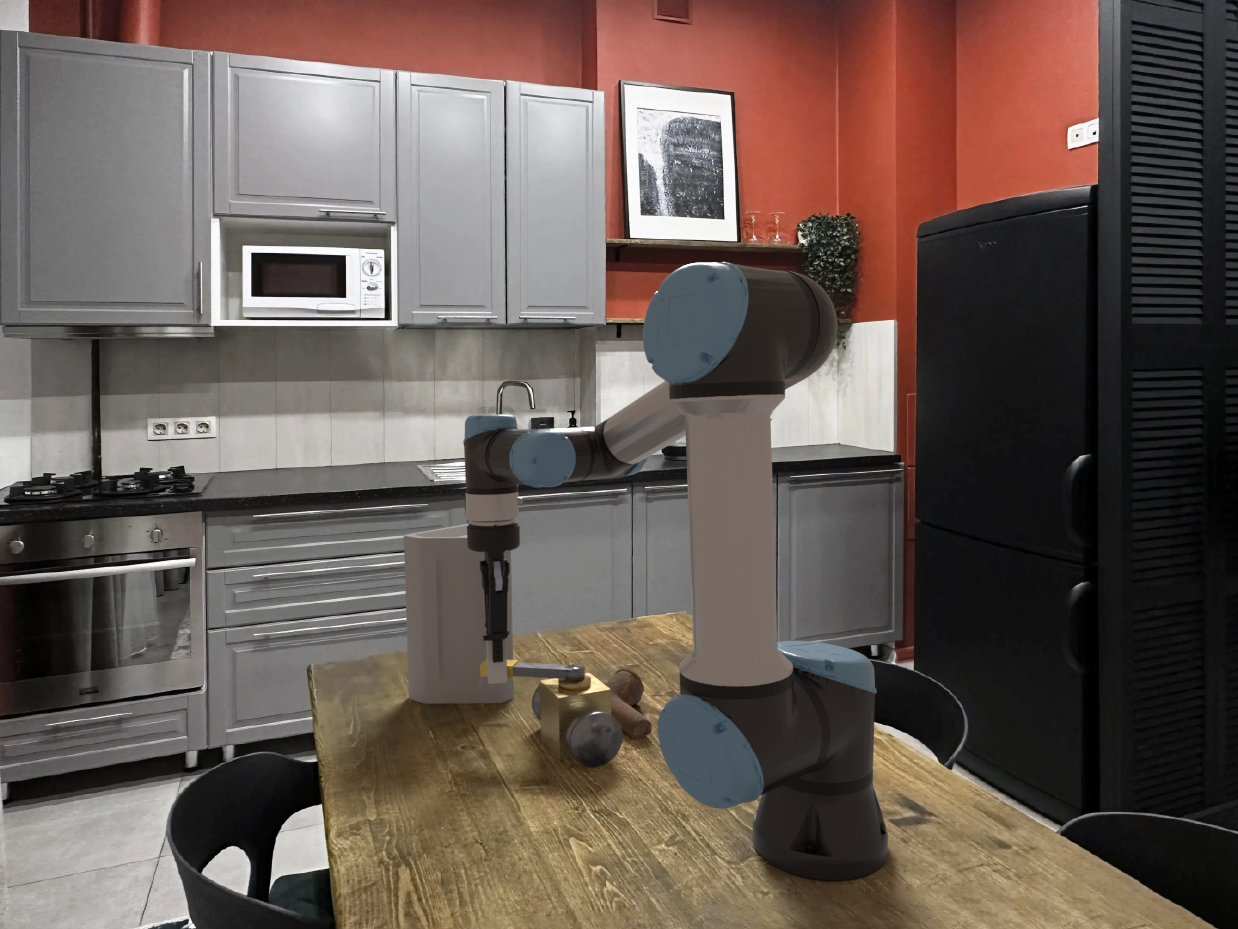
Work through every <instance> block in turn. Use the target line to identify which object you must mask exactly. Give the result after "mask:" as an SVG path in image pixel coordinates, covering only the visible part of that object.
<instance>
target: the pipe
mask: <svg viewBox="0 0 1238 929" xmlns="http://www.w3.org/2000/svg"><path fill="white" fill-rule="evenodd" d="M604 685H606V686H607V687H608V688H610V689H611V715H612V716H613V717H614V718H615V719H616V720H617V721H618V722H619V723H620V725H621V728H622V732H623V733H625V734H626V735H628V736H629V737H631V738H632V739H635V740H640V739H644V738H645V737H647V736H648V735H649V734H651V732H652V729H653V727H652V726H653V724H652V722H651V721H650V720H649V719H648V718H647V717H645V716H644V715H643V714H641V712H640V711H638V710H636V709H635V708H634V707H632V706H634V705H637V704H638V703H640V701H642V698H643V697H642V696H643V694H644V692H645V686H644V684H643V681H642V678H641V677H640V676H639V675H638V674H637V673H636V672H635V671H633V670H632V669H630V668H620V669H617V671H615V672H614V674H613V675H612V676H611V678H609V680H607V681H606V682H605V683H604Z"/></svg>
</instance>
